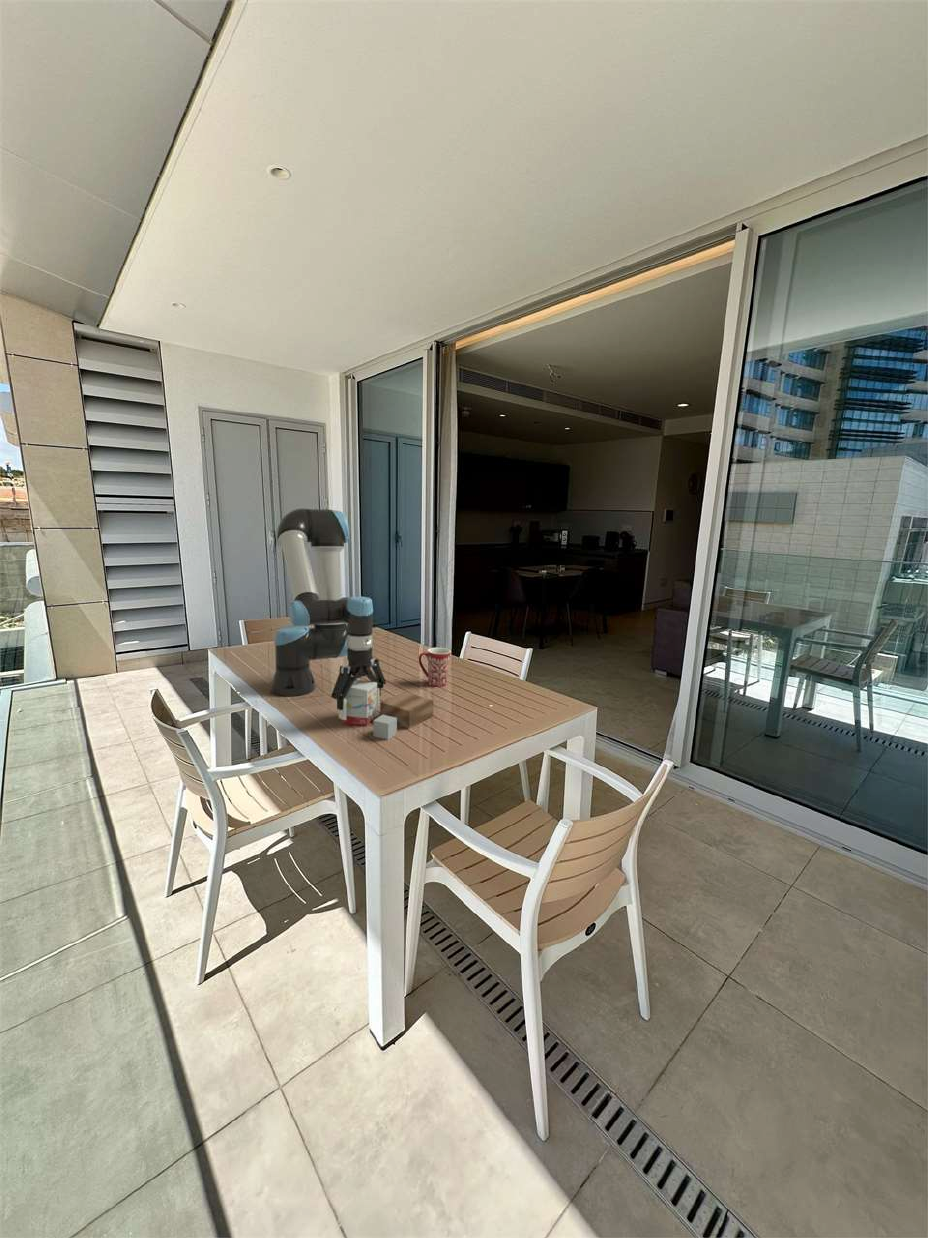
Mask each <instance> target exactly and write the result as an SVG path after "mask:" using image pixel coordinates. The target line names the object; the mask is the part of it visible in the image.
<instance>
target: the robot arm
mask: <svg viewBox="0 0 928 1238" xmlns="http://www.w3.org/2000/svg"><path fill="white" fill-rule="evenodd" d="M348 522H349V521H348V519H347V517H346V515H345V513H343V512H342V511H341V510H335V509H321V508H319V509H316V508H296V509H293V510H291V511H289V512H288V513H287V514H285V515H284V516H283V518H282V519H281V521H280V522H279V525H278V527H277V531H276V539H277V543H278V546H279V547H280V548H281V549H282V551H283V556H284V561H285V565H286V570H287V574H288V578H289V583H290V588H291V593H292V596H293V601H291V602H289V605H288V613H289V620H290V623H291V624H289V625H288V624H287V625H285V626H282V627H280V628H278V629H277V630H276V631H275V633H274V648H275V649H274V650H275V652H274V653H275V655H274V656H275V657H274V658H275V670H274V671H275V672H274V674H273V678H272V681H271V683H270V689H271V690H270V691H271V693H273V694H275V695H276V696H277V695H278V696H282V697H297V696H303V695H306V694H310V693H312V692H313V691H314V690H315V689H316V681H315V678H314V675H313V673H312V670H311V665H310V662H311V661H317V660H326V659H337V658H342V657H343V658H344V657H346V656H347V658H346V659H347V661H348V665H347V666H344V665H340V666H339V673H338V675H337V679H336V681H335V683H334V686H333V689H332V692H331V695H330V697H331V699H334V700H336V708H337V710H338V719H340V720H342V719H343V720H346V699H344V698H345V696H346V694H347V693H348V691H349V689H350V688H351V686H352V684H353V682H354V681H356V680H358V679H360V678H362V677H366V678H368V681H370V682H377V706H376V709H380V697H381V694H382V689H383V688H384V687H385V686H384V685H387V681H386V678H385V676H384V674H383V671H382V669H381V666H380V660H379V659H378V658H374V657H373V648H372V646H373V623H374V622H373V621H374V620H373V614H374V607H373V600H372V598H370V597H366V596H350V597H346V596H344V597H342V580H341V579H342V577H341V576H342V572H341V568H342V567H341V552H342V551H343V550H344V548H345V544H346V543H348V542H349V538H350V527H349V523H348ZM308 543H310V548H311V549H312V551H314V552H315V568H316V569H315V570H316V571H315V572H316V581H315V576H314V572H313V570H312V569H313V568H312V564H311V560H310V557H309V552H308V549H307V544H308ZM310 626H313V627H310ZM370 668H371V669H372V670H371V669H370Z"/></svg>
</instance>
